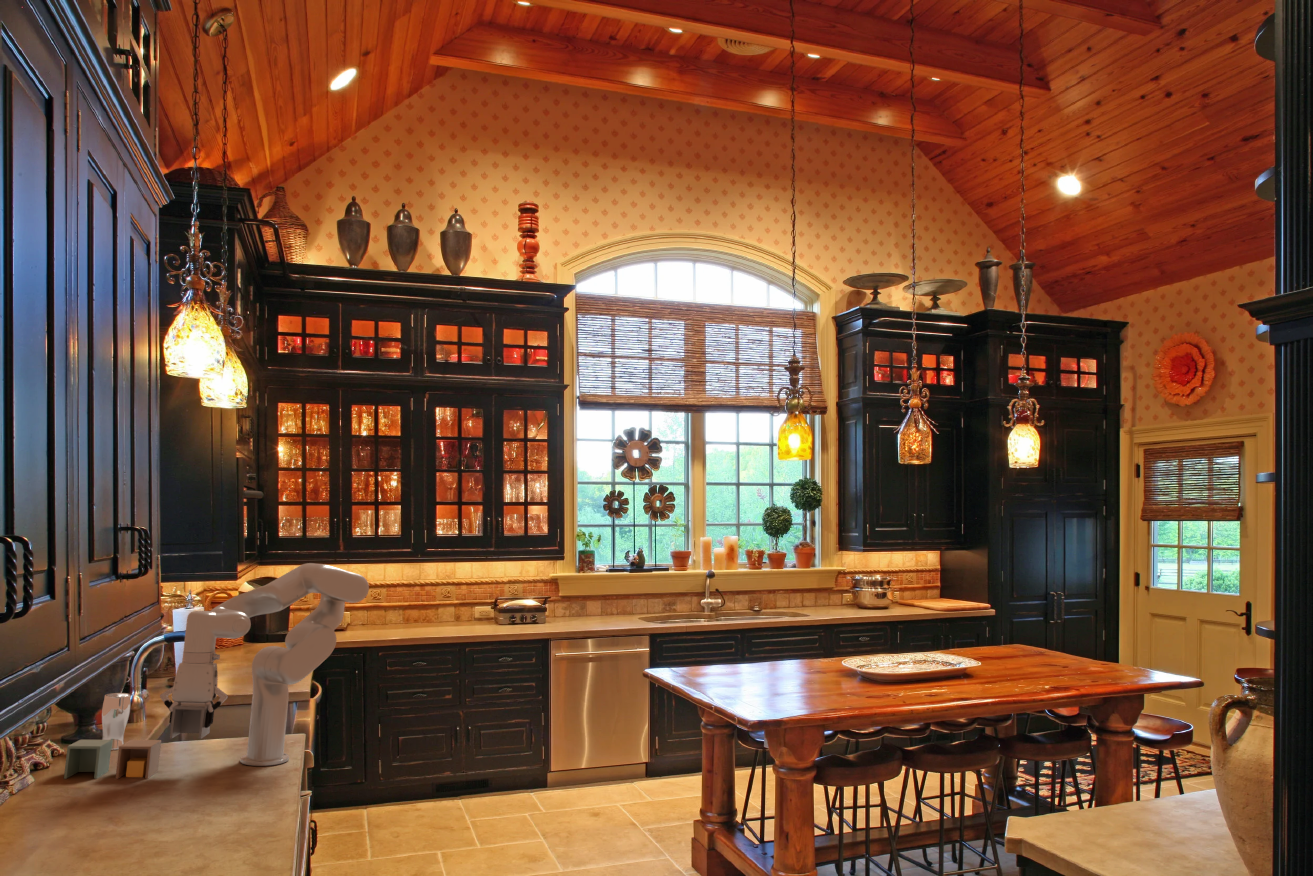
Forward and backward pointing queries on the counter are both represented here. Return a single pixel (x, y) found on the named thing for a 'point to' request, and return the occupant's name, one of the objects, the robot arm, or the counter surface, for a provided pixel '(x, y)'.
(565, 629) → the counter surface
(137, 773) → the orange block
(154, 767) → the tan cardboard-coloured box
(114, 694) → the beer glass
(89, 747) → the green open box
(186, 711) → the grey open box
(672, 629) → the counter surface
